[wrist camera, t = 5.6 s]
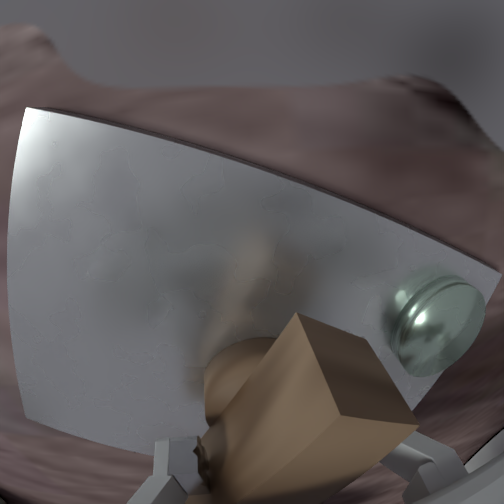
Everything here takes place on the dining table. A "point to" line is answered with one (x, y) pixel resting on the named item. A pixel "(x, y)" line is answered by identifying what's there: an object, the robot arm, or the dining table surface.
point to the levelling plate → (201, 277)
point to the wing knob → (297, 416)
